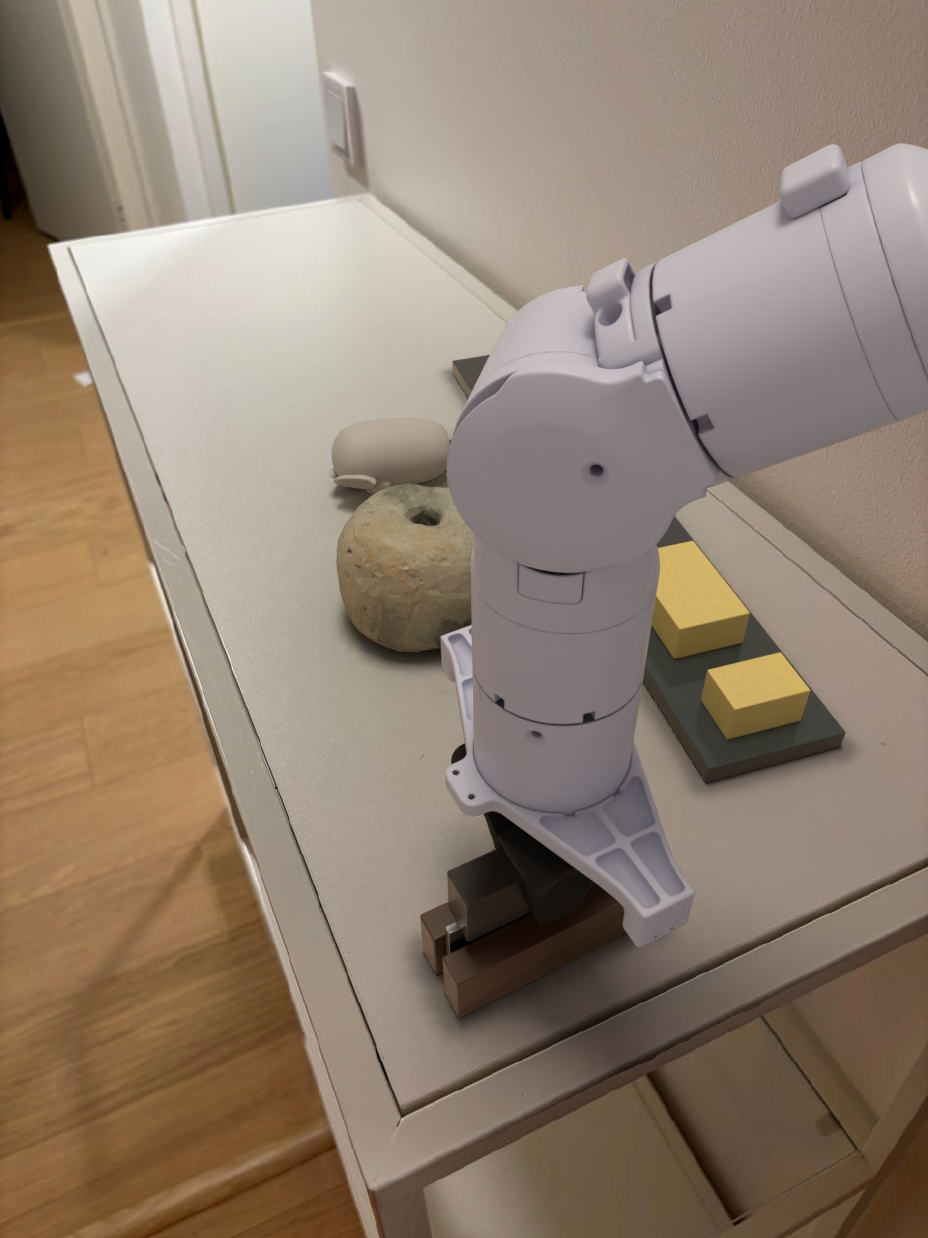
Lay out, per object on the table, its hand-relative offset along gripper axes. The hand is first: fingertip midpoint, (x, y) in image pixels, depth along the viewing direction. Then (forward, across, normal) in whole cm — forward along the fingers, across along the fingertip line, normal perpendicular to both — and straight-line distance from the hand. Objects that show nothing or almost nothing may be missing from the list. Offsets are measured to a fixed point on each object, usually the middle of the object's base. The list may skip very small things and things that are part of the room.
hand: (541, 887), depth 42 cm
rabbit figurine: (+4, -36, +10) cm, 38 cm away
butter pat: (+3, -6, +16) cm, 18 cm away
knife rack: (+4, 0, 0) cm, 4 cm away
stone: (+4, -22, +5) cm, 23 cm away
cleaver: (+4, 0, 0) cm, 4 cm away
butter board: (+4, -25, +20) cm, 33 cm away
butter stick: (+3, -14, +18) cm, 23 cm away
